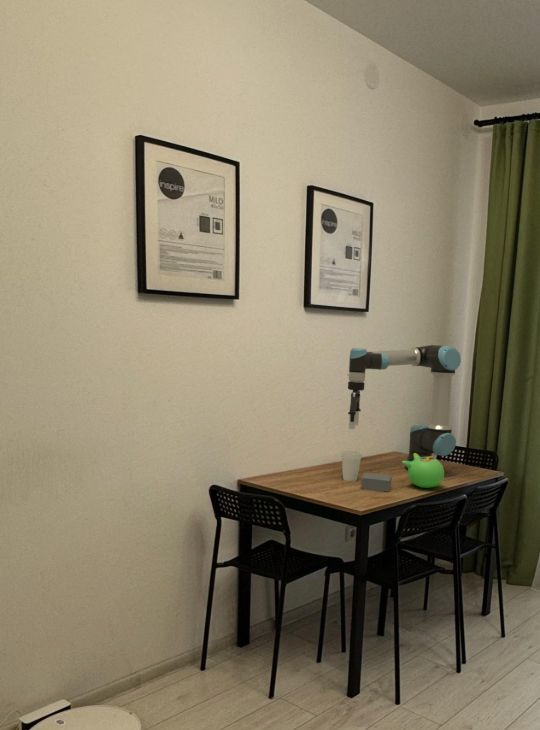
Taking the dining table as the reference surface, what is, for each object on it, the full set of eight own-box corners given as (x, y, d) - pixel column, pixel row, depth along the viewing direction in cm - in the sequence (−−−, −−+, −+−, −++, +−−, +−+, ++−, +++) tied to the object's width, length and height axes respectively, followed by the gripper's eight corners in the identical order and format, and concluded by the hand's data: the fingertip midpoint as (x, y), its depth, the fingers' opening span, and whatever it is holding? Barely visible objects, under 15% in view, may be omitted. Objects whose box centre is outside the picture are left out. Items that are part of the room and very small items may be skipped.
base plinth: (364, 483, 286) (364, 472, 286) (390, 486, 283) (391, 475, 283) (361, 489, 275) (361, 477, 274) (388, 492, 272) (389, 480, 271)
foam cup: (356, 477, 297) (358, 450, 296) (362, 482, 288) (364, 454, 287) (337, 477, 296) (339, 450, 295) (342, 482, 286) (344, 453, 286)
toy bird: (436, 494, 273) (438, 460, 272) (399, 487, 281) (401, 455, 281) (447, 486, 288) (449, 455, 287) (412, 480, 297) (414, 450, 296)
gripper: (351, 379, 302) (348, 422, 303) (344, 382, 278) (342, 429, 279) (367, 380, 301) (364, 424, 302) (361, 383, 276) (358, 431, 277)
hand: (353, 427), depth 290 cm, fingers open, 13 cm apart
